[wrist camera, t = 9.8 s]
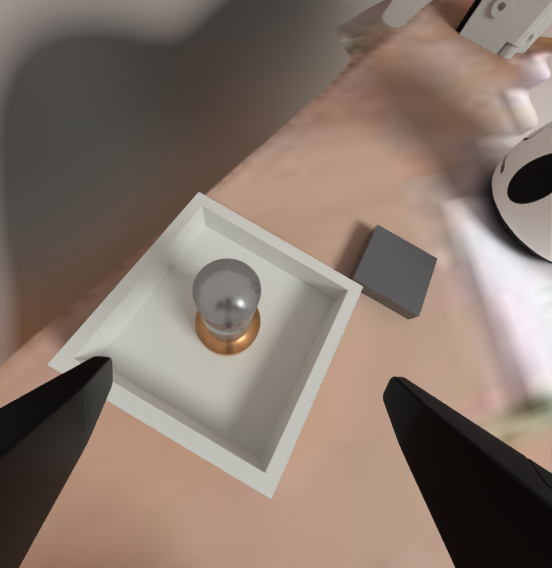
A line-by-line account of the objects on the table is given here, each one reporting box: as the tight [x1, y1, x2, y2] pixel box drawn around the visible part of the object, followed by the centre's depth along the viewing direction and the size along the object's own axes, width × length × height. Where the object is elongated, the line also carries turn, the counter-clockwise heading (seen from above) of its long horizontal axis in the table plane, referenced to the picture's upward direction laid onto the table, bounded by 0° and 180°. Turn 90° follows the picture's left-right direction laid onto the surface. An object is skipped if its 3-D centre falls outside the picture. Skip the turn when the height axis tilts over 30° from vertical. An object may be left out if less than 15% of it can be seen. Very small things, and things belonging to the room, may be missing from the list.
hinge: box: [456, 0, 552, 59], centre depth 42 cm, size 14×5×10 cm, turn 74°
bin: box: [47, 192, 363, 499], centre depth 20 cm, size 16×16×4 cm
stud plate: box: [349, 225, 437, 319], centre depth 26 cm, size 7×7×2 cm
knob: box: [192, 258, 261, 357], centre depth 17 cm, size 5×5×10 cm
